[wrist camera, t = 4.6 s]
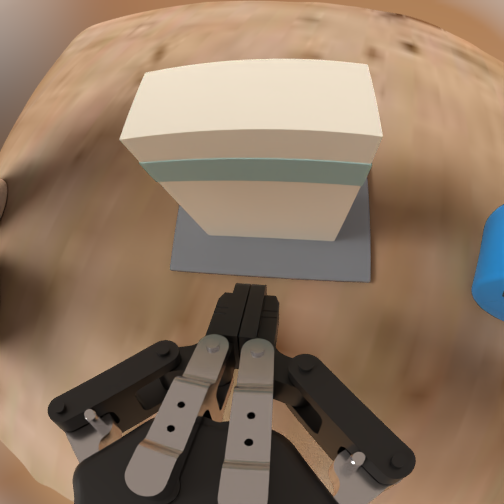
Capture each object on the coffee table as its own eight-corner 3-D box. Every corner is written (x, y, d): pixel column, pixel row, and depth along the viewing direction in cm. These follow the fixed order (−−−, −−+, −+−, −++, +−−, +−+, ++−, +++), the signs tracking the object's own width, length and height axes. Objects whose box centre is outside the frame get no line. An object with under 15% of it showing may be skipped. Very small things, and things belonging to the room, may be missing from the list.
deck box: (334, 241, 22) (384, 137, 9) (208, 235, 24) (118, 140, 10) (334, 193, 23) (368, 64, 10) (214, 189, 25) (144, 72, 11)
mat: (368, 282, 22) (370, 281, 21) (172, 270, 24) (169, 269, 24) (352, 77, 27) (353, 74, 26) (209, 76, 29) (208, 73, 28)
